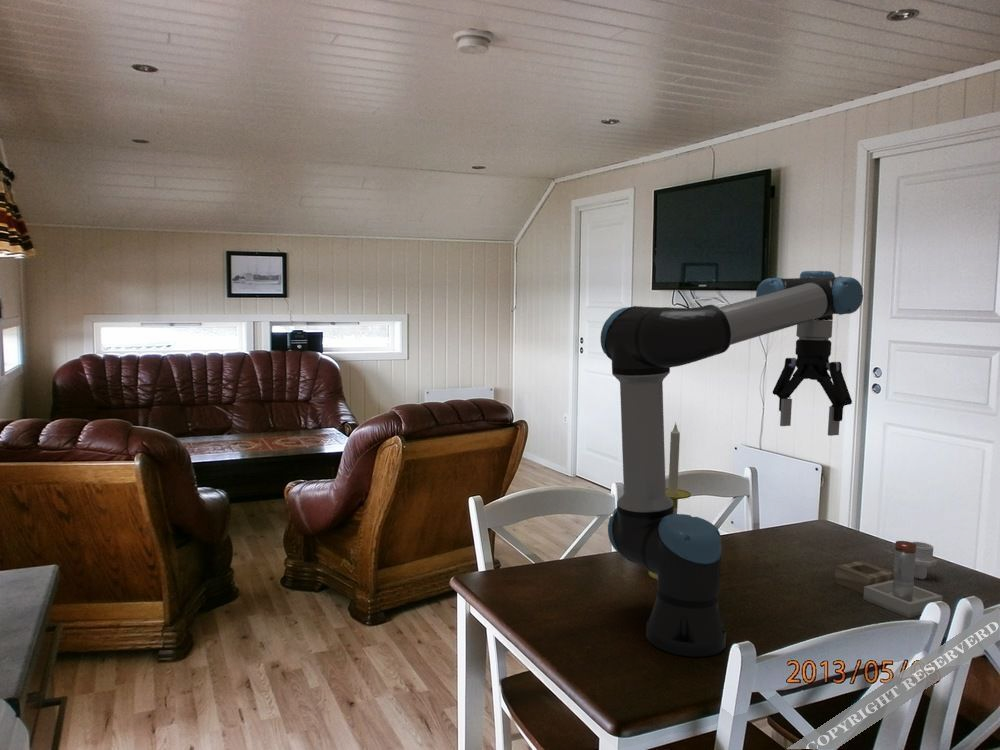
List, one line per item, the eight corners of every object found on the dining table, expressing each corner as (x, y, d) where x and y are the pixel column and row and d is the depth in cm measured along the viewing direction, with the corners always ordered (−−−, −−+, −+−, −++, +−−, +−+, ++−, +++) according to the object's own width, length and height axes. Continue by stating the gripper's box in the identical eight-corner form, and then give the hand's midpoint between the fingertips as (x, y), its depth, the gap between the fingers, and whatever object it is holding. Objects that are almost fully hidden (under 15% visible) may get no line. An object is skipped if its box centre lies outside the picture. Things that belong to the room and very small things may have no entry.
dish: (909, 618, 158) (910, 604, 158) (863, 599, 168) (864, 586, 167) (941, 609, 163) (942, 596, 163) (895, 591, 173) (896, 579, 172)
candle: (687, 585, 174) (694, 426, 171) (644, 578, 178) (650, 423, 174) (693, 571, 183) (700, 420, 180) (652, 565, 187) (658, 417, 183)
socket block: (868, 595, 170) (869, 578, 170) (834, 582, 178) (835, 566, 178) (894, 589, 174) (895, 572, 174) (860, 576, 182) (861, 560, 182)
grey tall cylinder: (904, 605, 163) (908, 547, 161) (888, 599, 166) (891, 542, 165) (916, 602, 164) (920, 545, 163) (899, 596, 168) (903, 539, 167)
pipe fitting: (898, 575, 183) (900, 544, 182) (912, 570, 187) (914, 539, 187) (925, 583, 178) (928, 551, 177) (939, 577, 182) (941, 545, 182)
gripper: (873, 341, 162) (866, 438, 164) (782, 336, 184) (778, 421, 186) (849, 342, 158) (843, 440, 161) (760, 336, 181) (755, 423, 183)
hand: (808, 430), depth 173 cm, fingers open, 13 cm apart
